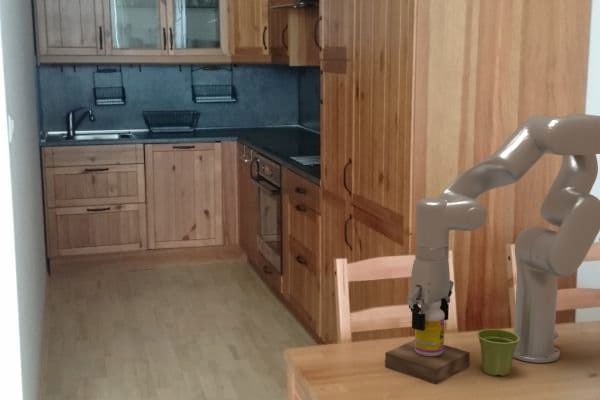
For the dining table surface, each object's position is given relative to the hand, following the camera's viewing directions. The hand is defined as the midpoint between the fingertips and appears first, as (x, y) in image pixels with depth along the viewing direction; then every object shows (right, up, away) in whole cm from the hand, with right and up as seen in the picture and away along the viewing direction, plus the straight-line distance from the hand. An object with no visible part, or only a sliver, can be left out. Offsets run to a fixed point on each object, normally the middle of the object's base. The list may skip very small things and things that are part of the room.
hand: (430, 323), depth 175 cm
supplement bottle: (0, -7, +1) cm, 7 cm away
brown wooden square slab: (-1, -10, +2) cm, 10 cm away
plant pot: (+15, -11, -1) cm, 19 cm away
